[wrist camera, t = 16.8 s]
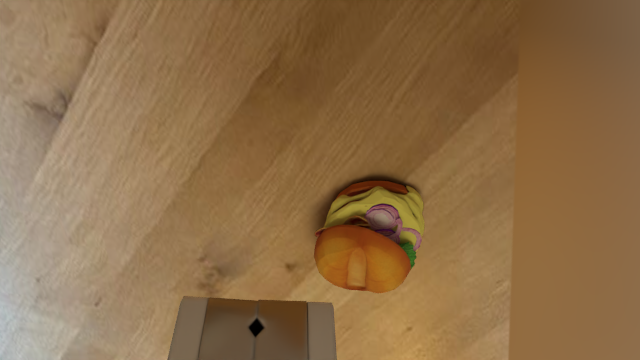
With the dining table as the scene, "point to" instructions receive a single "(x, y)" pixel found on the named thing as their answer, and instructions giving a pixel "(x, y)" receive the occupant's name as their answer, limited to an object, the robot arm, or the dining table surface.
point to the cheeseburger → (370, 236)
